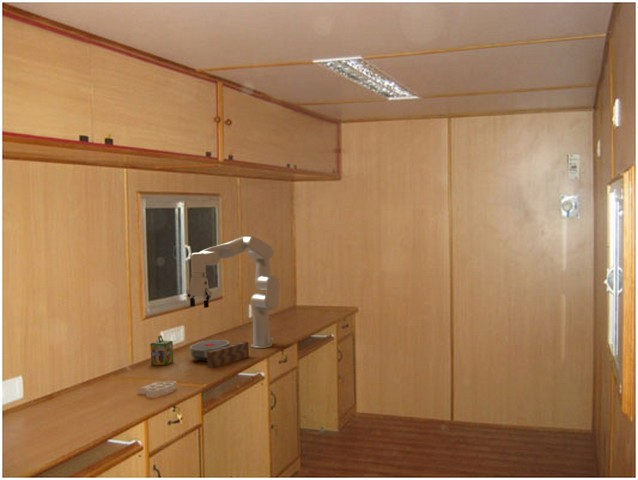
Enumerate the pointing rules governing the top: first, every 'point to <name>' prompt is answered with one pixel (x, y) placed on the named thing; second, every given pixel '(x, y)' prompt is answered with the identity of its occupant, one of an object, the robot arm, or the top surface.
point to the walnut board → (227, 354)
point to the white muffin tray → (158, 388)
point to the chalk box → (161, 352)
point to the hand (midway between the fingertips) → (199, 306)
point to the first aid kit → (206, 348)
